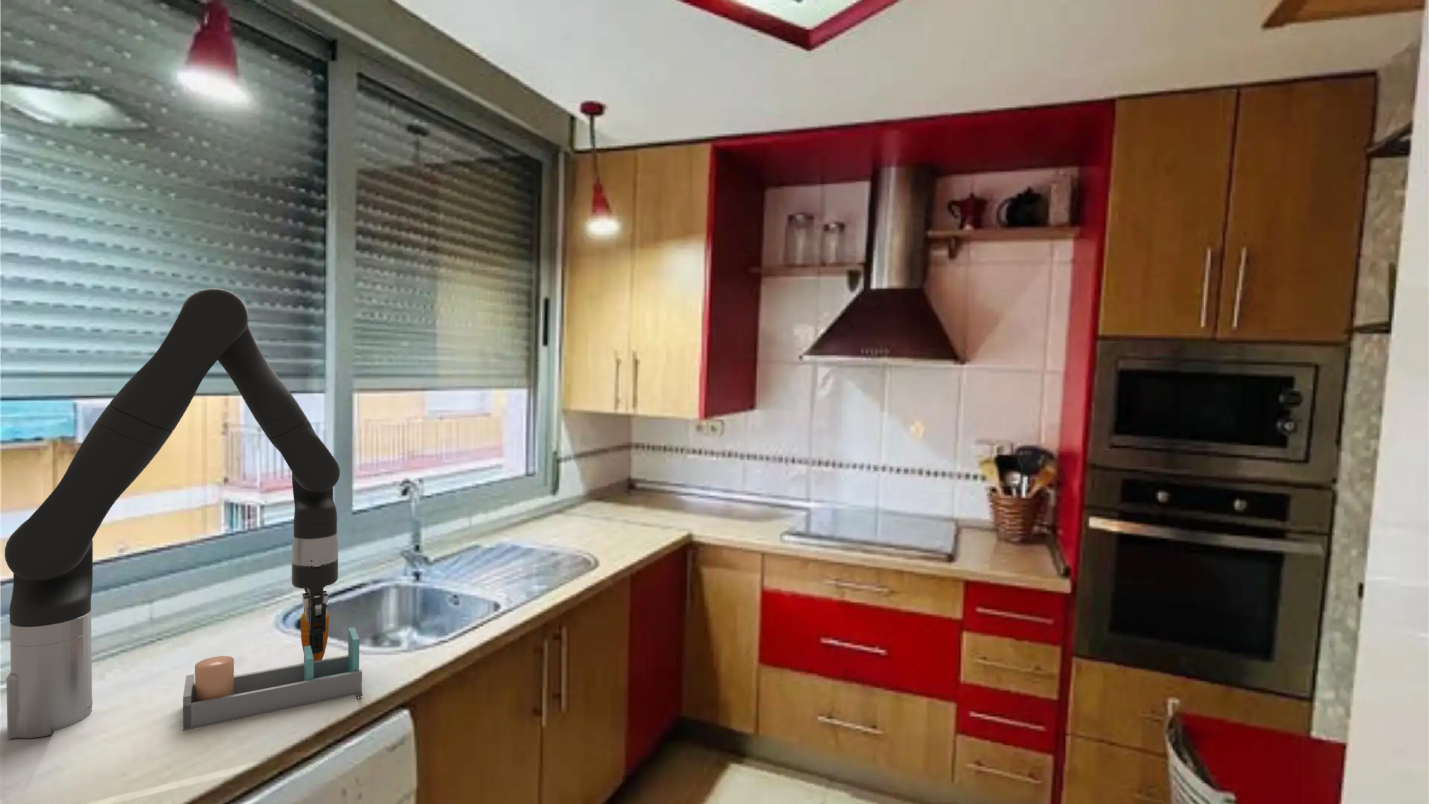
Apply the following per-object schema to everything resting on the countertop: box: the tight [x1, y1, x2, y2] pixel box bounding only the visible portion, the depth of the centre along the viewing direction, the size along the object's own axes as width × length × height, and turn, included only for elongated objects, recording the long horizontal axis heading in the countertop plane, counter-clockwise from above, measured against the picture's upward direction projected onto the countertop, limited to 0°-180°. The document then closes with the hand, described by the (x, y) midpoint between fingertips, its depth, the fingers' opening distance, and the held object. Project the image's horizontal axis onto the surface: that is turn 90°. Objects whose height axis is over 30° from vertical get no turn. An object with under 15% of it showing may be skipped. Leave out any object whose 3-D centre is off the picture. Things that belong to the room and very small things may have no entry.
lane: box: [182, 654, 363, 732], centre depth 119 cm, size 25×10×6 cm, turn 124°
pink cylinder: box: [194, 655, 235, 702], centre depth 114 cm, size 5×5×8 cm
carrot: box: [300, 594, 330, 661], centre depth 132 cm, size 5×5×15 cm
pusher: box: [303, 626, 360, 681], centre depth 124 cm, size 8×6×9 cm
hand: (314, 647), depth 132 cm, fingers closed on carrot, 4 cm apart
